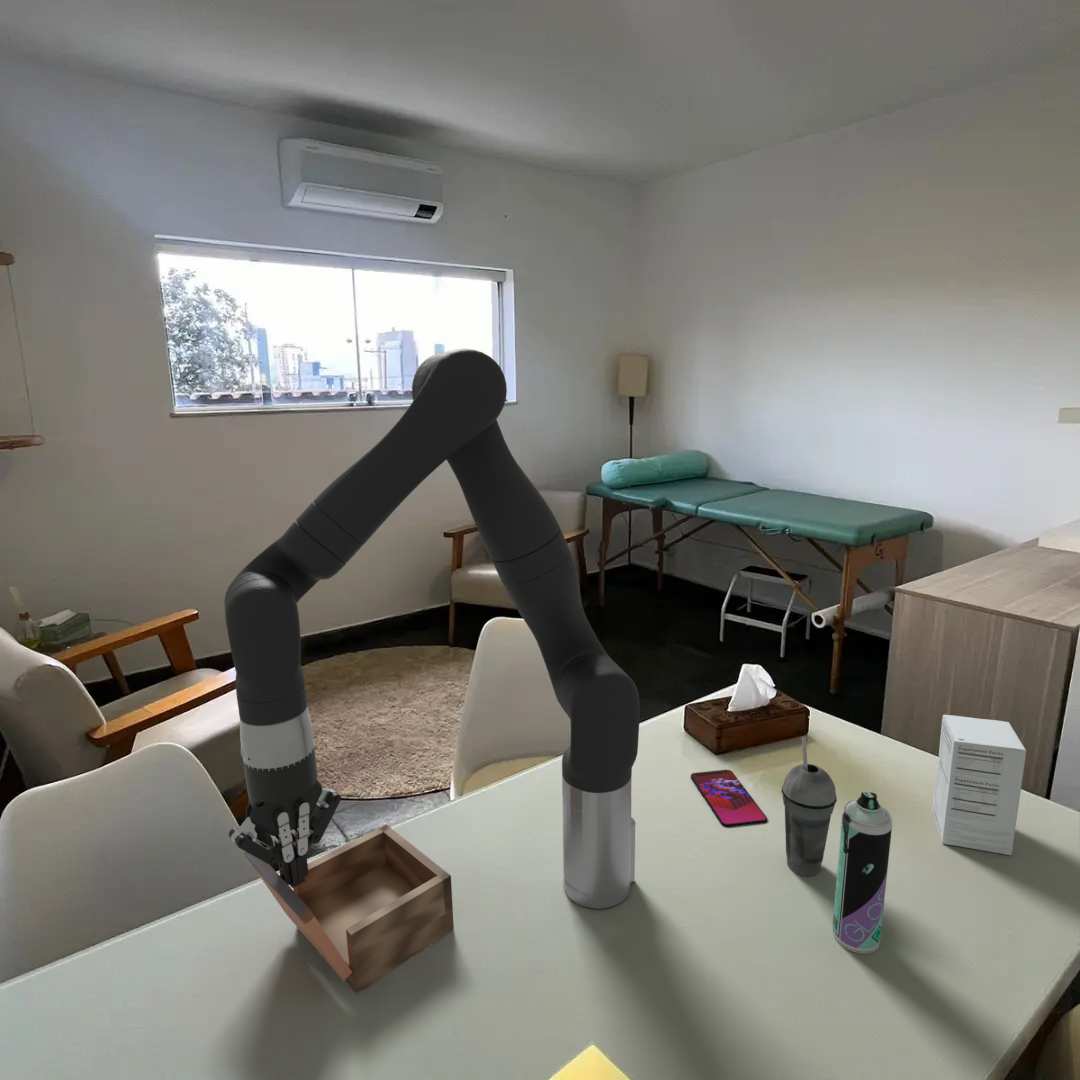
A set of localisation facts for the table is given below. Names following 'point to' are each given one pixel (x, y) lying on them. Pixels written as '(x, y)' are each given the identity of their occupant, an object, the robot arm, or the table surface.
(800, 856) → the beverage cup
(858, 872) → the spray can
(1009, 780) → the supplement box
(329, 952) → the panel
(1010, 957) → the table surface
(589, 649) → the robot arm
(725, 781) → the smartphone
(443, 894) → the box
